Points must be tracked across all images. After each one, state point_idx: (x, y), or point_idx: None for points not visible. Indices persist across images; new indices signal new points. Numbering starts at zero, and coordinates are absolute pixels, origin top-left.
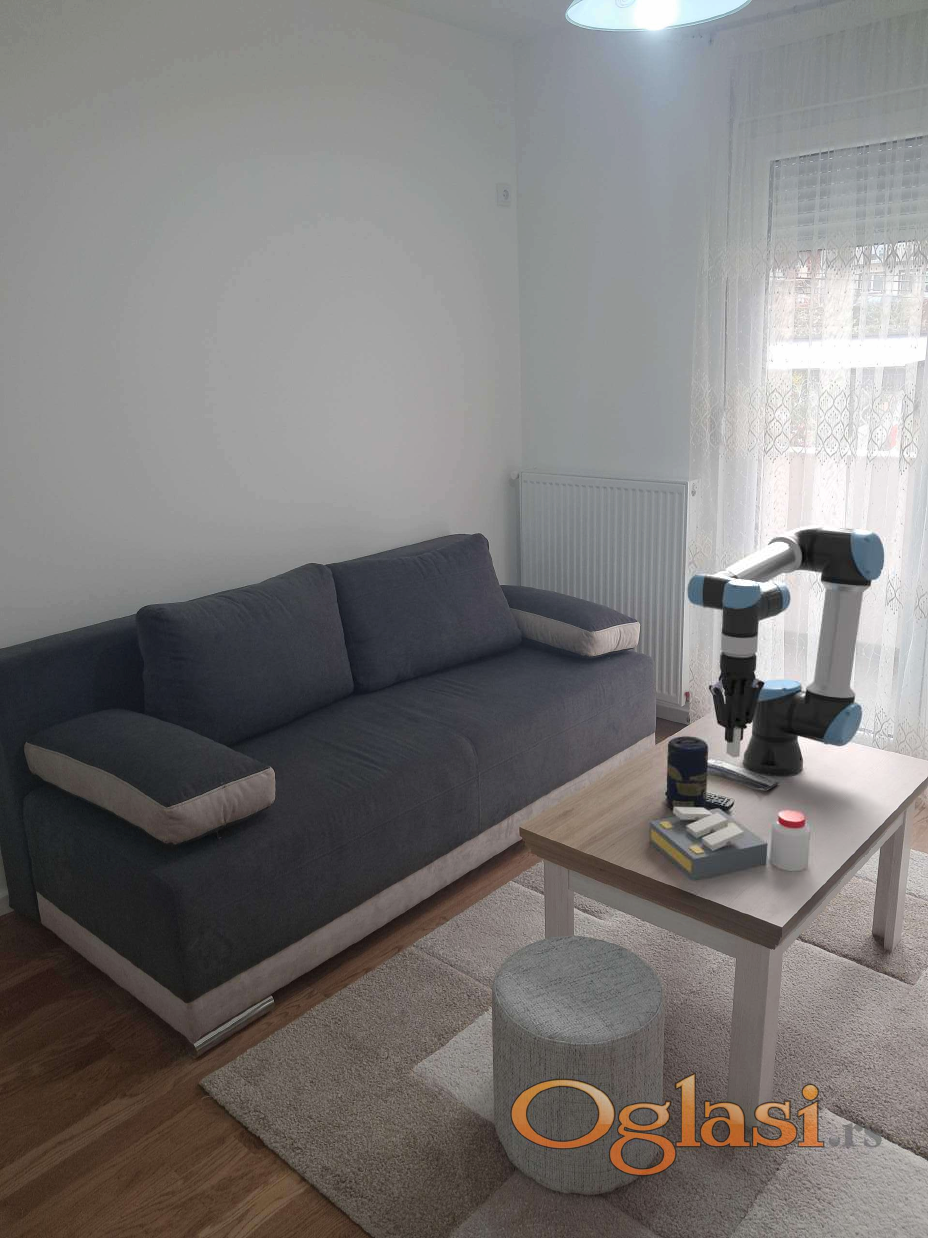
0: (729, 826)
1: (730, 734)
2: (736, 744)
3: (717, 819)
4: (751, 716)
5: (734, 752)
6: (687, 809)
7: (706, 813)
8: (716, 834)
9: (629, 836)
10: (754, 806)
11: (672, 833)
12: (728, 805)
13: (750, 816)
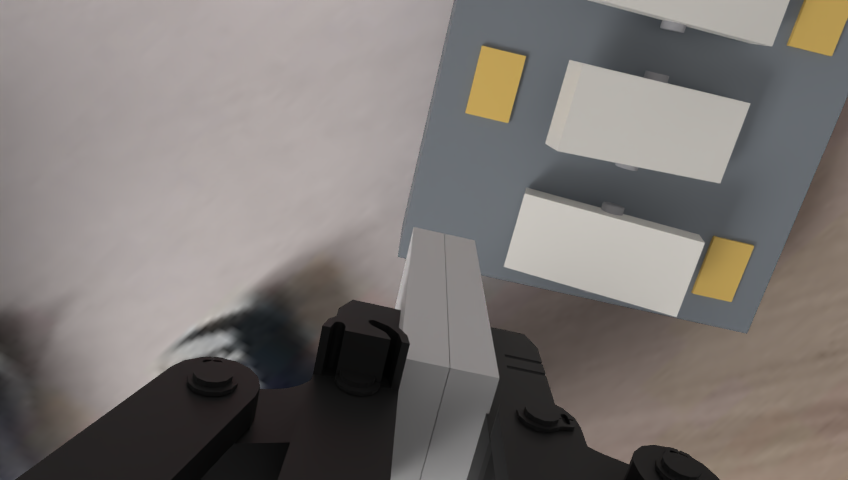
0: (629, 3)
1: (520, 382)
2: (457, 280)
3: (608, 103)
4: (151, 427)
5: (470, 256)
6: (625, 273)
7: (554, 210)
8: (719, 6)
9: (728, 365)
10: (131, 271)
11: (767, 200)
12: (219, 334)
13: (210, 221)
